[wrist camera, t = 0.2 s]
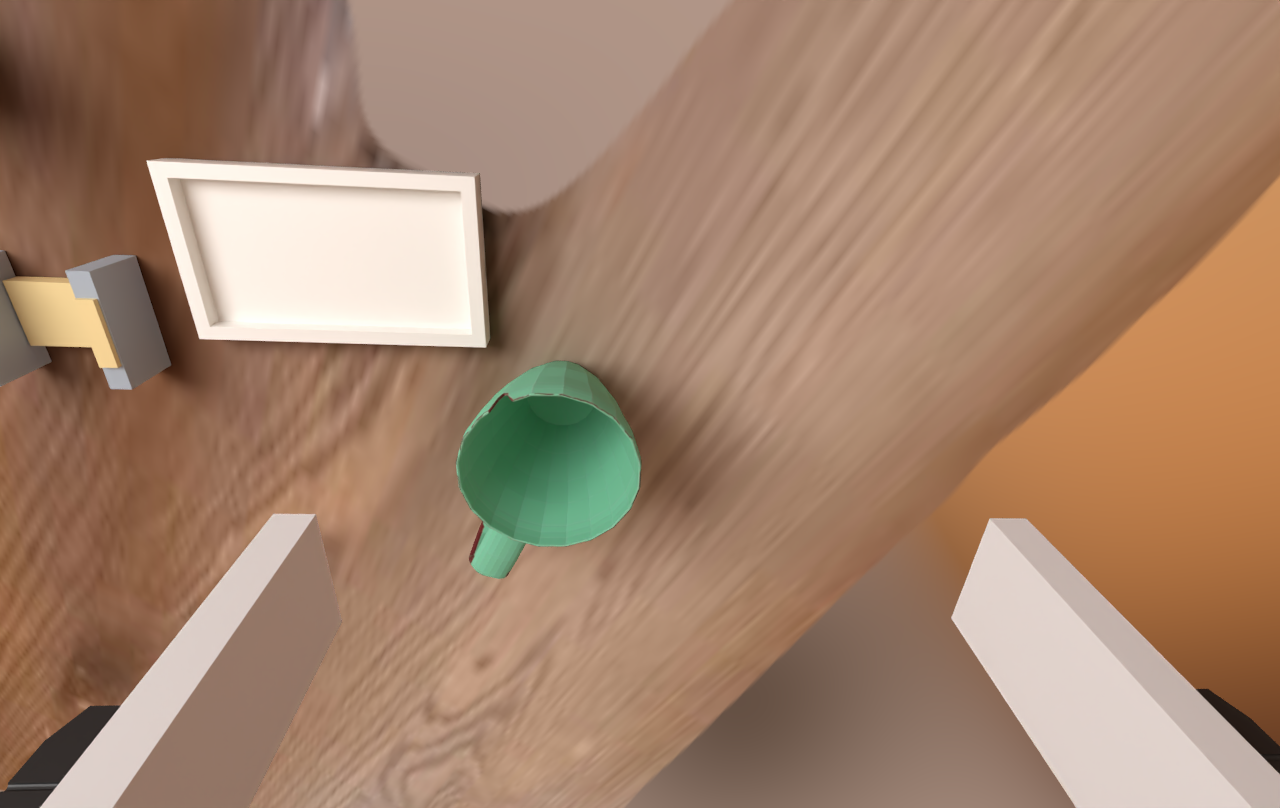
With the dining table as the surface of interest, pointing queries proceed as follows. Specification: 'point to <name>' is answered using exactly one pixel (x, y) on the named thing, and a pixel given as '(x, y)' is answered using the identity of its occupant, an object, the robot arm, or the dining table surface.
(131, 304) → the cradle
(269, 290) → the tray
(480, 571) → the mug
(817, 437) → the dining table surface
